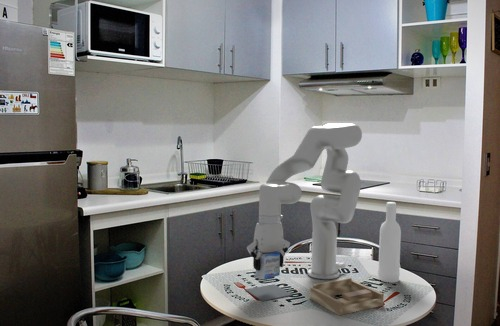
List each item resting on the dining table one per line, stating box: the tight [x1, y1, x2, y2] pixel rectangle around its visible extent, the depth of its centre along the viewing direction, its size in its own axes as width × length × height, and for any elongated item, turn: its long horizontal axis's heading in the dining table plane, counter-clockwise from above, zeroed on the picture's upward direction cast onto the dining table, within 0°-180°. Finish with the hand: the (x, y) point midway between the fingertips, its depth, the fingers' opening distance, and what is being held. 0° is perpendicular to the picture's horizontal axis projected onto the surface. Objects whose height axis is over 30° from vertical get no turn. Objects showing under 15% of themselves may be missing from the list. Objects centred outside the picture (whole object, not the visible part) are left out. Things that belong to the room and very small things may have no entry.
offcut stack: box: [336, 289, 373, 306], centre depth 166 cm, size 14×4×5 cm, turn 119°
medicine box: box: [255, 251, 281, 280], centre depth 177 cm, size 8×4×9 cm, turn 133°
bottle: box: [377, 201, 402, 283], centre depth 193 cm, size 8×8×30 cm
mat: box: [245, 283, 293, 302], centre depth 178 cm, size 12×12×1 cm
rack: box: [309, 277, 384, 316], centre depth 170 cm, size 18×16×5 cm
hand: (268, 267), depth 177 cm, fingers closed on medicine box, 8 cm apart
